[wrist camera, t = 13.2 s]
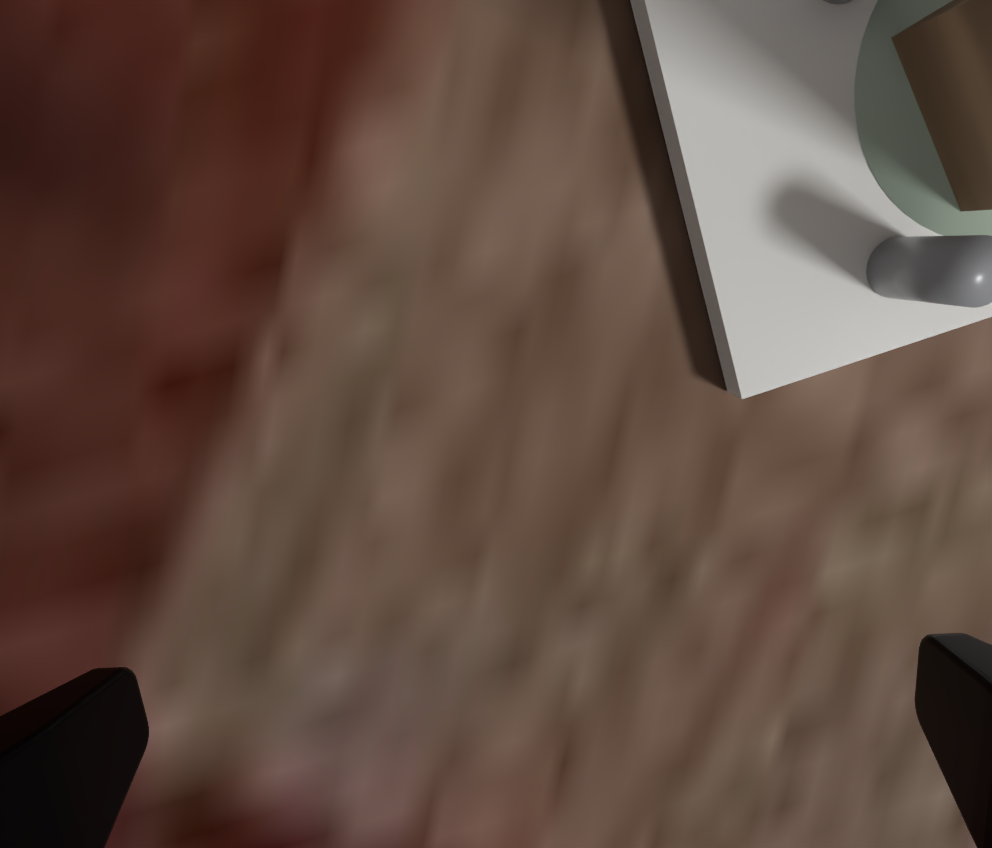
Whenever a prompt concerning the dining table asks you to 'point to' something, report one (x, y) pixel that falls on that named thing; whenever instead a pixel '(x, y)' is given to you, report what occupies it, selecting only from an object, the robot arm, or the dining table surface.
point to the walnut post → (955, 92)
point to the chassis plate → (809, 183)
